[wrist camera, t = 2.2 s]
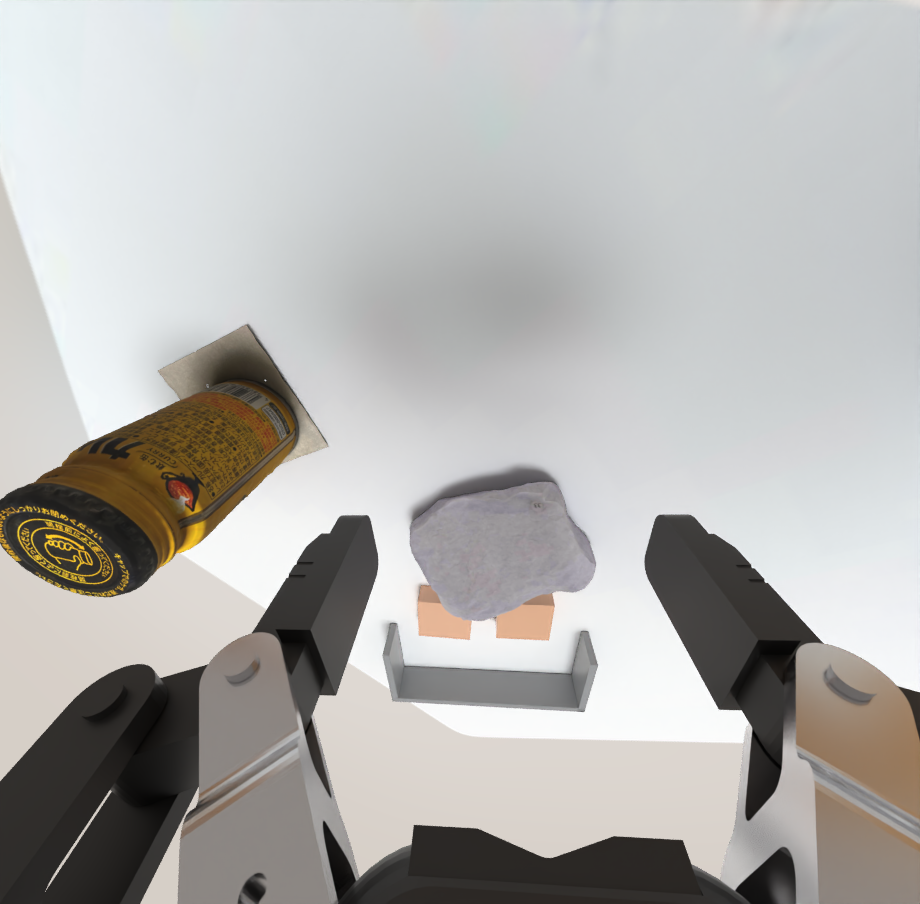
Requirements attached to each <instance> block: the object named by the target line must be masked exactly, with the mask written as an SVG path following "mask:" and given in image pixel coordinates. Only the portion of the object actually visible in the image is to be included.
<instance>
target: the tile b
mask: <svg viewBox="0 0 920 904" xmlns="http://www.w3.org/2000/svg"><path fill="white" fill-rule="evenodd" d="M554 606H555V605H554V600H553V596H552V593H551V594H542V595H539V596H536V597H534V598H532V599H530V600H528V601H526V602H525V603H523V604H522V605H520V606H519V607H517V608H516V609H514V610H512V611H509V612H507V613H505V614H500V615H498V616H496V638H508V639H530V640H549V637H550V631H551V625H552V619H553V612H554Z"/></svg>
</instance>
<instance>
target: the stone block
mask: <svg viewBox="0 0 920 904" xmlns="http://www.w3.org/2000/svg"><path fill="white" fill-rule="evenodd" d="M410 546H411V551H412V554H413V555H414V558H415V560H416V561H417V562H418V564H419V566H420V568H421V570H422V571H423V574H424V575H425V577H426V579H427V581H428V583H429V584H430V586H431V588H432V590H434V591H435V592H436V593H437V595H438V597H439V599H440V602H441V604H442V606H443V607H444V609H445V610H446V611H447V612H449V613H450V614H451V615H453V616H455V617H460V618H462V620H469V621H471V620H474V621H484V620H487V619H489V618H494V617H496V616H498V615H500V614H505V613H507V612H509V611H512V610H514V609H516V608H517V607H519V606H520V605H522V604H523V603H525V602H526V601H528V600H530V599H532V598H534V597H536V596H539V595H542V594H551V593H553V592H556V591H563V592H577V591H580V590H582V589H584V588H585V587H586V586H587V585H588V584H589V582H590V581H591V580H592V578H593V575H594V572H595V567H596V562H595V558H594V554H593V551H592V549H591V546H590V542H589V540H588V539H587V537H586V536H585V535H584V533H583V532H581V531H580V529H579V528H578V527H577V526H576V525H575V524H574V522H573V521H572V520H571V518H570V517H568V515H567V511H566V505H565V502H564V498H563V496H562V493H561V491H560V489H559V487H558V486H557V485H556V484H555V483H553V482H535V483H527V484H525V485H522V486H515V487H511V488H508V489H504V490H492V491H486V490H485V491H480V492H477V493H471V494H464V495H460V496H456V497H450V498H443V499H439V500H438V501H437V502H436V503H435V504H434V505H432V506H431V507H430V508H429V509H428V510H426V511H425V512H424V513H423V514H422V515H421V516H419V517H418V518H416V519H415V520H414V521H413V522H412V523H411V526H410Z"/></svg>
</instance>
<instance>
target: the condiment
mask: <svg viewBox="0 0 920 904" xmlns="http://www.w3.org/2000/svg"><path fill="white" fill-rule="evenodd" d="M158 372H159V373H160V375H161V376H162V377H163V378H164V380H165V381H166V383H167V384H168V385H169V386H170V387H171V388H172V389H173V390H174V391H175V393H176V394H177V396H178V397H179V399H180V401H178V402H175V403H174V404H172V405H170V406H167V407H165V408H163V409H160V410H158V411H157V412H155V413H152V414H151V415H147V416H145V417H144V418H142V419H140V420H137V421H135V422H133V423H131V424H129V425H126V426H124V427H122V428H120V429H118V430H115V431H113V432H111V433H108V434H106V435H104V436H102V437H100V438H98V439H95V440H92V441H89V442H88V443H86V444H84V445H83V446H81V447H79V448H78V449H77V450H75V451H73V452H72V453H71V454H70V455H69V457H68V458H67V459H66V460H65V461H64V462H63V463H62V466H61V467H57V468H56V469H53V470H52V471H50V472H48V473H45V474H43V475H42V476H41V477H40V478H39V479H38V480H37V481H36V482H34V483H31V484H28V485H26V486H24V487H21V488H18V489H16V490H14V491H12V492H10V493H8V494H7V495H6V496H5V497H4V498H2V499H1V500H0V544H1V546H2V547H3V549H4V550H5V551H6V552H7V553H8V554H9V555H10V556H12V558H13V559H15V560H16V562H18V563H19V564H20V565H21V566H23V567H24V568H25V569H26V570H28V571H30V572H31V573H33V574H34V575H36V576H38V577H39V578H42V579H43V580H45V581H47V582H49V583H51V584H53V585H54V586H57V587H59V588H62V589H64V590H69V591H71V592H74V593H79V594H81V595H87V596H97V597H113V596H116V595H121V594H125V593H128V592H131V591H133V590H136V589H137V588H139V587H140V586H142V585H143V584H144V583H145V582H147V580H148V579H149V578H150V577H151V576H152V575H153V574H154V573H155V572H156V570H157V569H158V568H160V567H161V566H164V565H165V564H166V563H168V562H169V561H170V560H172V558H173V557H174V556H175V554H176V553H181V552H184V551H186V550H189V549H191V548H192V547H194V546H195V545H197V544H198V543H200V542H201V541H202V540H203V539H204V538H206V537H207V536H208V535H209V534H210V533H211V532H212V531H213V530H214V529H215V528H216V526H217V525H218V524H219V523H220V522H221V521H223V519H225V517H226V516H227V515H228V514H229V513H230V512H231V511H232V510H233V509H234V508H235V507H236V506H237V505H238V504H239V503H240V502H241V501H242V500H244V498H246V497H247V496H248V495H249V494H250V493H251V492H252V491H253V490H254V489H255V488H256V487H257V486H258V485H259V484H260V483H261V482H262V481H263V480H264V479H265V478H266V477H267V475H269V474H271V473H272V472H273V471H274V469H275V468H276V467H277V466H279V465H280V464H282V463H285V462H288V461H290V460H293V459H296V458H298V457H301V456H304V455H307V454H310V453H312V452H315V451H318V450H320V449H323V448H326V447H328V445H327V444H326V442H325V441H324V439H323V437H322V436H321V434H320V433H319V431H318V429H317V428H316V426H315V425H314V423H313V422H312V420H311V419H310V418H309V416H308V414H307V412H306V411H305V409H304V408H303V406H302V405H301V404H300V403H299V401H298V399H297V397H296V396H295V395H294V394H293V392H292V391H291V389H290V388H289V386H288V385H287V384H286V383H285V382H284V380H283V379H282V377H281V376H280V373H279V372H278V370H277V369H276V368H275V366H274V365H273V363H272V361H271V360H270V358H269V356H268V355H267V354H266V352H265V351H264V350H263V349H262V347H261V346H260V345H259V343H258V342H257V341H256V339H255V337H254V336H253V334H252V333H251V331H250V330H249V328H248V327H247V325H245V326H243V327H241V328H239V329H237V330H236V331H234V332H232V333H230V334H228V335H226V336H224V337H222V338H220V339H219V340H217V341H215V342H213V343H211V344H209V345H207V346H205V347H203V348H201V349H199V350H197V351H196V352H194V353H192V354H190V355H188V356H186V357H184V358H182V359H180V360H178V361H176V362H174V363H172V364H170V365H168V366H166V367H164V368H162V369H160V370H158ZM264 379H266V380H267V381H266V382H265V381H264ZM206 384H209V388H206Z"/></svg>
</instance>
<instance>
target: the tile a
mask: <svg viewBox="0 0 920 904" xmlns="http://www.w3.org/2000/svg"><path fill="white" fill-rule="evenodd" d="M418 623H419V635H420V636H432V637H444V638H455V639H467V640H470V631H471V621H469V620H462V618H460V617H455V616H453V615H451V614H450V613H449V612H447V611H446V610H445V609H444V607H443V606H442V604H441V602H440V599H439V597H438V595H437V593H436V592H435V591H434V590H432V588H431V586H426V585H421V588H420V593H419V598H418Z"/></svg>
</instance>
